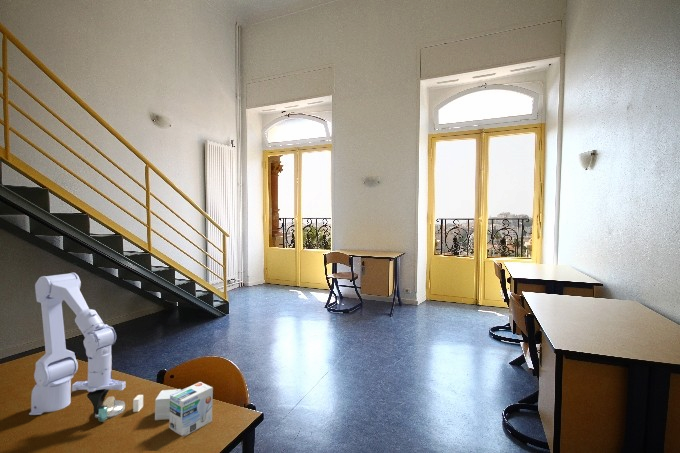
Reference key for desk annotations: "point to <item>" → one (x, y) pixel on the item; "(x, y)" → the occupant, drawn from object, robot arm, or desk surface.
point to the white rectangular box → (138, 403)
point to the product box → (163, 404)
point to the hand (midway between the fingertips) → (98, 412)
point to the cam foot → (110, 408)
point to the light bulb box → (191, 408)
